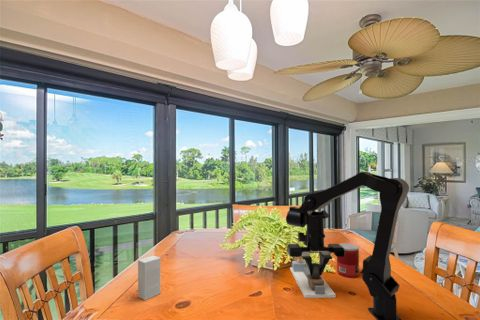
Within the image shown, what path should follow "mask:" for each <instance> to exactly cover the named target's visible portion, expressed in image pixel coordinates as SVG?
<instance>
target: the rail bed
mask: <svg viewBox="0 0 480 320" xmlns="http://www.w3.org/2000/svg"><path fill="white" fill-rule="evenodd" d="M289 271H290V273H291V274H292V276H293V278H294V281H295V282H296V284H297V285H298V288H299V289H300V292H301V293H302V295H303V296H304V298H305V299H314V298H315V299H317V298H318V299H319V298H320V299H321V298H322V299H323V298H325V299H326V298H329V299H331V298H336V296H337V295H336V293H335V292H334V291H333V289H332V288H331V287H330V286H329V284H328V283H327V281H326V280H325V279H324V278H323V276H322V275H321V277H322V279H323V280H324V286H321V285H314V290H312V289H311V288H310V286H309V285H308V279H307V275H310V273H309V270H308V267H307V264H306V261H305V260H296V261H295V260H294V261H293V260H292V261H291V266H290V268H289Z"/></svg>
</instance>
